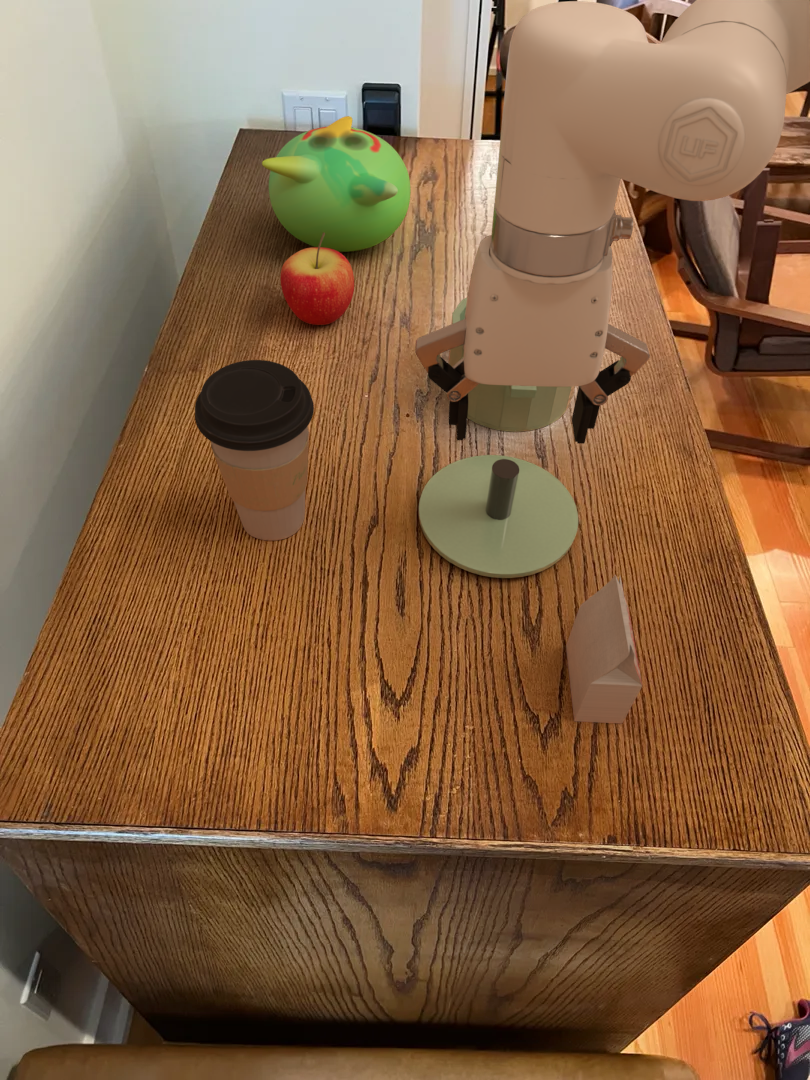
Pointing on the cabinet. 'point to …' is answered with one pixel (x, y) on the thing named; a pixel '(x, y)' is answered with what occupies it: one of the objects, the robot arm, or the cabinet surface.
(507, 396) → the pot
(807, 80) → the robot arm
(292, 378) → the coffee cup
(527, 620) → the cabinet surface
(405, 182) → the toy bird
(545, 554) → the lid
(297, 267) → the apple
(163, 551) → the cabinet surface
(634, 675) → the tea bag
